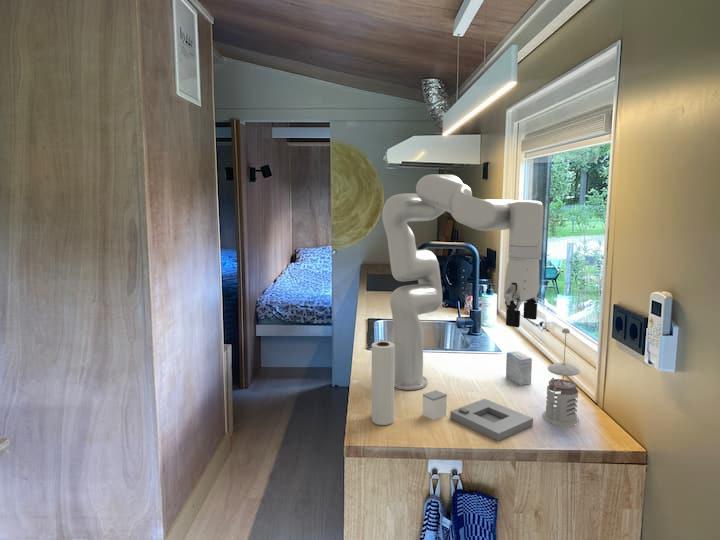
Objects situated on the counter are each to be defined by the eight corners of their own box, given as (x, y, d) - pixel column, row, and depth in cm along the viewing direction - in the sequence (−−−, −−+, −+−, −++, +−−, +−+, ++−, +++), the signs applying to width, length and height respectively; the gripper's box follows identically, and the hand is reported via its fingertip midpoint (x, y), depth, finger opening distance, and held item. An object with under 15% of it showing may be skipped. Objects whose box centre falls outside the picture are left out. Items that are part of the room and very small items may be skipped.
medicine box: (531, 384, 160) (532, 358, 159) (519, 385, 159) (520, 359, 158) (517, 375, 168) (518, 350, 167) (505, 377, 167) (506, 351, 165)
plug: (422, 415, 138) (423, 394, 138) (435, 410, 141) (436, 390, 141) (433, 420, 135) (433, 399, 134) (446, 415, 138) (446, 394, 137)
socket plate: (450, 418, 136) (450, 409, 136) (484, 405, 145) (484, 396, 144) (498, 441, 124) (498, 431, 123) (532, 425, 132) (533, 416, 132)
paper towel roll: (388, 427, 131) (388, 348, 128) (367, 422, 134) (367, 345, 131) (399, 417, 137) (400, 341, 134) (379, 412, 140) (380, 338, 137)
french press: (586, 418, 136) (592, 328, 132) (567, 432, 128) (573, 337, 124) (551, 407, 143) (556, 321, 139) (531, 419, 135) (536, 329, 132)
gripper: (524, 248, 129) (521, 313, 132) (493, 254, 117) (490, 326, 119) (554, 250, 124) (550, 318, 127) (524, 257, 112) (520, 332, 114)
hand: (521, 322), depth 123 cm, fingers open, 9 cm apart
